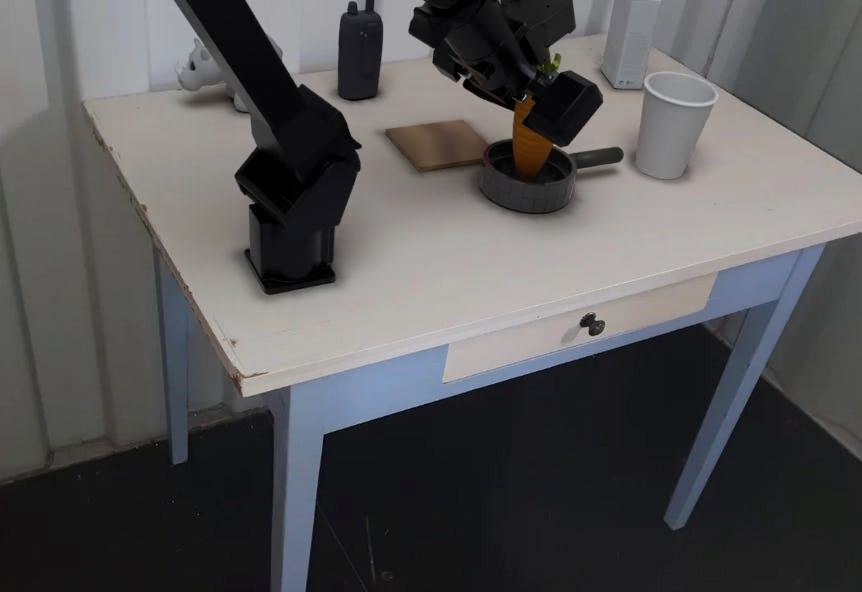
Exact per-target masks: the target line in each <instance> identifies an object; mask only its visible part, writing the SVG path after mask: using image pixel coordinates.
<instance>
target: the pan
mask: <svg viewBox="0 0 862 592" xmlns="http://www.w3.org/2000/svg"><path fill="white" fill-rule="evenodd" d="M488 145H489V146H487V147H486V149H485V150H484V152H483V157H482V163H480V169H479V170H480V172H479V177H478V186H479V188H480V190H481V191H482V193H483V194H484V195H485V196H486V197H487V198H488V199H490V200H492V201H493V202H495V203H496V204H497V205H500V206H502V207H505V208H506V209H509V210H513V211H517V212H521V213H530V214H542V213H549V212H554V211H558V210H559V209H562V208H564V207H565V206H566V205H567V204H569V202H570V200H571V198H572V195H573V190H574V187H575V181H576V177H577V172H578V169H577V166H576V163H575V161H574V160H573V158H572V157H571V156H570V155H568V154H569V153H568V152H566V151H565V150H563V149H561V148H560V147H558V146H556V145H553V147H552V149H551V151H550V153H549V156H548V158H547V160H546V162H545V163H544V165H543V166H542V168H541V169H540V171H539V172H538V173H537V174H536V175H535V177H534V178H533V179H532V180H531V181H530V182H525V181H521V180H520V178H519V175H518V172H517V168H516V165H515V160H514V155H513V137H512V138H504V139H499V140H497V141H494V142H492V143H490V144H488Z"/></svg>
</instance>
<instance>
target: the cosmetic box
mask: <svg viewBox="0 0 862 592" xmlns="http://www.w3.org/2000/svg"><path fill="white" fill-rule="evenodd" d="M661 5H662V0H613V5H612V10H611V15H610V20H609V26H608V30H607V37H606V42H605V46H604V47H605V48H604V52H603V57H602V63H601V69H600V71H601V72H602V74H603V75H604V76H605V77H606V79H607V80H608V82H610V84H611V85H612V87H613V88H615V89H619V90H641V89H642V88H643V86H644V80H645V76H646V71H647V66H648V62H649V57H650V54H651V49H652V45H653V40H654V37H655V36H654V35H655V31H656V26H657V23H658V18H659V12H660V10H661Z"/></svg>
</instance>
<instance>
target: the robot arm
mask: <svg viewBox="0 0 862 592" xmlns="http://www.w3.org/2000/svg"><path fill="white" fill-rule="evenodd" d="M422 1H424V3H423V4H422V5H420V6H415V7H414V8H413V10H412V11H413V12H412V13H413V16H412V18H411V19H410V20H409V24H408V30H407V33H408V34H409V35H410V36H412V37H413V38H415V39H417V40H418V41H419V42H421V43H423V44H425V45H426V46H428V47H429V48H431V49H432V50H433V54H432V60H431V61H432V65H433V66H434V68H435V69H436V70H437V71H438V72H439V73H440V74H441V75H443V76H444V77H446V78H448V79H450V80H451V81H453V82H454V83H456V84H457V83H459V81H460V80H461V79H462V77H463V78H465V79H464V80H463V82H462V87H463V89H465V90H466V91H468V92H470V93H471V94H473V95H475V97H478V98H479V99H481V100H483V101H486V102H488V103H491V104H493V105H496V106H499V107H501V108H504V109H505V110H509V111H510V112H513V113H514V111H515V104H516V101H518V102H519V103H524V102H525V101H526V99H527V98H528V94H529V95H531V96H532V98H531V99H530V101H531V102H532V103H533V104H534V106H532V108H531V110H530V113H529V114H528V115H527V116H526V118H525V119H524V120H523V121H522V123H521V124H522V125H524V126H525V127H527V128H529V129H530V130H532V131H533V132H535V133H537V134H538V135H541V136H542V137H544V138H545V139H547V140H548V141H550V142H552V143H553V145H554V146H555V147H558V148H559V149H561V148H566V147H569V146H570V144H572V142H573V141H574V140H575V138H576V137H577V136H578V135H579V134H580V133H581V131H582V130H583V129H584V128H585V126H586V125H587V124H588V123H589V121H590V120H591V119H592V117H593V116H594V115H595V114H596V113H597V111H598V110H599V109H600V107H601V106H602V105H603V103H604V95H603V93H602V91H601V89H600V88H599V86H598V84H597V83H595V82H593V81H591V80H590V79H588V78H586V77H584V76H582V75H580V74H579V73H577V72H575V71H573V70H571V69H568V70H564V71H560V72H558V71H557V72H556V71H552V72H549V73H548V74H545V73H543V72H542V71H540V70H538V69H536V67H537V66H538V65H539V66H541V67H542V66H544V64H545V63H546V61H547V60H548V59H549V58H550V57H551V54H550V55H549V54H548V52H547V51H546V49H545V48H548V47H549V48H550V47H552V46H553V45H554V44H556V43H557V42H558V41H560V40H561V39H562V38H564V37H565V36H567V35H570V34H572V33H573V32H574V31H575V30H576V28H577V24H576V23H577V22H576V14H575V7H574V0H422ZM173 2H174V4H175V5H176V6H177V7H178V9H179V11H180V12H181V13H182V15H183V16H184V18H185V19H186V21H187V22H188V24H189V25H190V27H191V28H192V30H193V31H194V32H195V34H196V35H197V37H198V39H199V41H200V42H201V44H202V45H203V46H205V47H206V49H207V50H208V52H209V53H210V55H211V56H212V58H213V59H214V60H215V62H216V63H217V65H218V66H219V68H220V69H221V71H222V72H223V74H224V75H225V77H226V78H227V80H228V81H229V83H230V84H231V86H232V87H233V88H234V90H235V91H236V93H237V94H238V96H239V97H240V99H241V100H242V102H243V103H244V105H245V106H246V108H247V109H248V111H249V112H248V114H249V117H250V129H251V136H252V138H253V140H254V142H255V145H256V147H255V148H254V149H253V151H252V152H250V154H249V155H248V157H247V158H246V159H245V160H244V162H243V163H242V164H241V165H240V167H239V168H238V169H237V171H236V172H235V173H234V175H233V177H234V181H235V183H236V184H237V187H238V189H239V191H240V193H241V194H243V195H244V196H245V197H247V198H248V199H250V200H251V201H252V202H253V203H250V204H248V226H249V227H248V231H249V232H248V233H249V247H248V248H245V249H244V250H243V257H244V258H245V260H246V262H247V264H248V265H249V268H250V269H251V271H252V272H253V274H254V276H255V277H256V279H257V281H258V283H259V285H260V287H261V289H262V290H263V292H265V293H266V294H275V293H280V292H286V291H289V290H295V289H300V288H305V287H310V286H315V285H320V284H326V283H330V282H334V281H335V280H336V272H335V271H334V270H333V268H332V266H331V265H330V264H333V263H334V261H335V242H336V241H335V239H336V227H338V226H339V225H340V224H341V221H342V219H343V217H344V214H345V211H346V208H347V205H348V203H349V200H350V197H351V195H352V192H353V189H354V187H355V184H356V181H357V177H358V174H359V173H360V172H361V170H362V162H361V158H360V156H359V155H360V154H359V153H358V152H357V150H361V149H362V148H363V144H362V143H360V142H359V141H358V140H356V139H355V138H354V137H353V135H352V134H351V131H350V128H349V125H348V122H347V120H346V118H345V116H344V114H343V112H342V111H341V110H339V109H338V108H336V107H335V106H334V105H333V104H331V103H330V102H329V101H328V100H326V99H324V97H322V96H320V95H319V94H318V93H316V92H315V91H314V90H313V89H311V88H309V87H308V86H307V85H305V83H303V82H302V83H300V85H297V83H296V82H295V80H294V79H293V77H292V75H291V74H290V72H289V70H288V69H287V67H286V64H285V63H284V62H283V59H282V60H281V58H280V57H279V55H278V53H277V52H276V50H275V48H274V47H273V45H272V43H271V42H270V40H269V38H268V37H267V35H268V34H267V33H266V31H265V30H264V29H263V27H262V25H261V23H260V21H259V20H258V19H257V17H256V15H255V13H254V11H253V10H252V8H251V7H250V5H249V4H248V2H247V0H173ZM266 34H267V35H266ZM544 83H545V84H546V86H545V85H543V84H544ZM523 91H524V92H523ZM525 92H526V94H525Z"/></svg>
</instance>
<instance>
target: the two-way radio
mask: <svg viewBox="0 0 862 592" xmlns="http://www.w3.org/2000/svg"><path fill="white" fill-rule="evenodd" d="M364 5H365V6H364V9H360V10H359V8H358V3H357V2H356V1H354V0H351V1H349V2H348V5H347V9H346V11H345V12H343V13H342V14H341V15H340V20H339V27H338V28H339V29H338V37H337V39H338V40H337V44H338V45H337V46H338V50H337V51H338V52H337V93H338V95H339V96H341V97H342V98H345V99H348V100H357V99H365V98H369V97H374V96H376V95H377V94H378V92H379V85H380V84H379V83H380V75H381V68H382V67H381V66H382V59H383V47H384V46H383V45H384V22H383V20H382V16H381V15H380V14H379V13H378V12H377V11H376V10H375V0H365V4H364Z"/></svg>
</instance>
